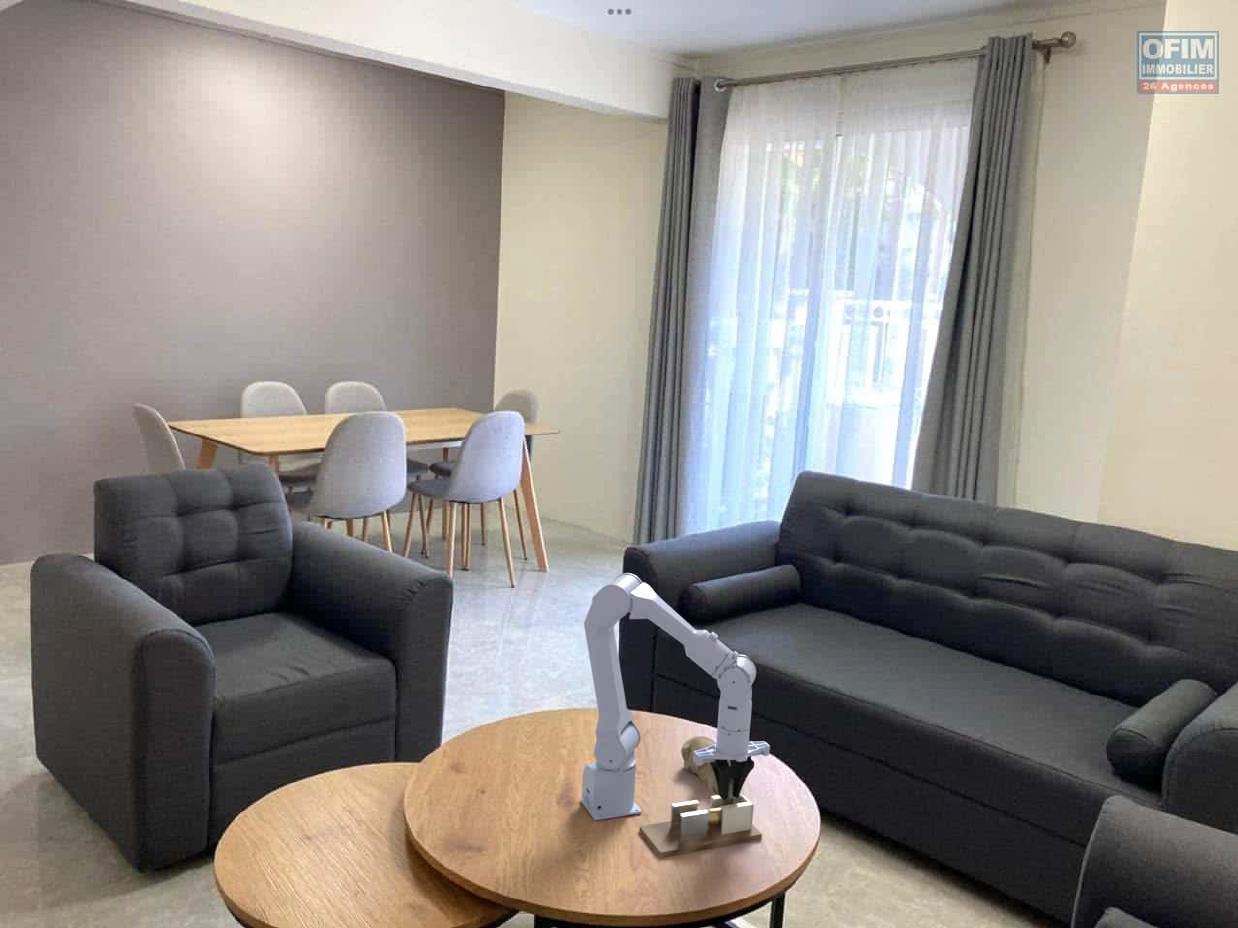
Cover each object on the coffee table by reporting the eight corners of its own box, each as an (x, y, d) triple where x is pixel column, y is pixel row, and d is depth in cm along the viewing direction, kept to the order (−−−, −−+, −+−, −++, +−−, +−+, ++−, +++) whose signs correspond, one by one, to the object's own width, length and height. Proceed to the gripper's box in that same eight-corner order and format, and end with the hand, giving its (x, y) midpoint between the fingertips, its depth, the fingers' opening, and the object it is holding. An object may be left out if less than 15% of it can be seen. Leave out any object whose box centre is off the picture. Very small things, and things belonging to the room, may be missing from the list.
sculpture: (698, 790, 188) (734, 751, 189) (666, 748, 204) (700, 712, 205) (727, 815, 191) (762, 776, 192) (693, 772, 207) (726, 736, 208)
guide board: (660, 857, 170) (662, 827, 169) (639, 831, 178) (641, 802, 178) (761, 838, 178) (764, 809, 177) (737, 814, 186) (739, 786, 185)
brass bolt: (690, 832, 175) (693, 786, 174) (683, 823, 178) (686, 778, 177) (745, 822, 180) (748, 777, 178) (737, 814, 182) (740, 770, 181)
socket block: (722, 834, 177) (724, 809, 176) (709, 820, 181) (710, 795, 181) (751, 829, 179) (753, 804, 178) (738, 815, 184) (739, 791, 183)
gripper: (708, 739, 170) (702, 812, 173) (780, 729, 176) (775, 800, 178) (689, 722, 177) (685, 793, 179) (760, 713, 182) (755, 782, 185)
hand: (728, 796), depth 179 cm, fingers closed on brass bolt, 2 cm apart
